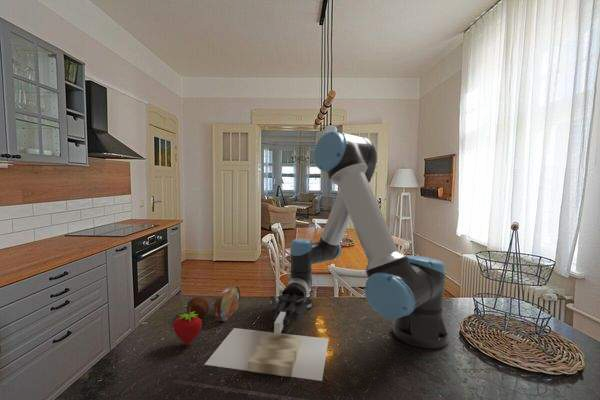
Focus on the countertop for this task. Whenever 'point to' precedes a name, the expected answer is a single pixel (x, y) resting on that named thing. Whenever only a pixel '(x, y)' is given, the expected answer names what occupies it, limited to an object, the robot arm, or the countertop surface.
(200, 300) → the potato
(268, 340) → the board
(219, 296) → the tin
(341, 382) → the countertop surface
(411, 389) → the countertop surface
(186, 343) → the strawberry
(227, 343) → the mat
